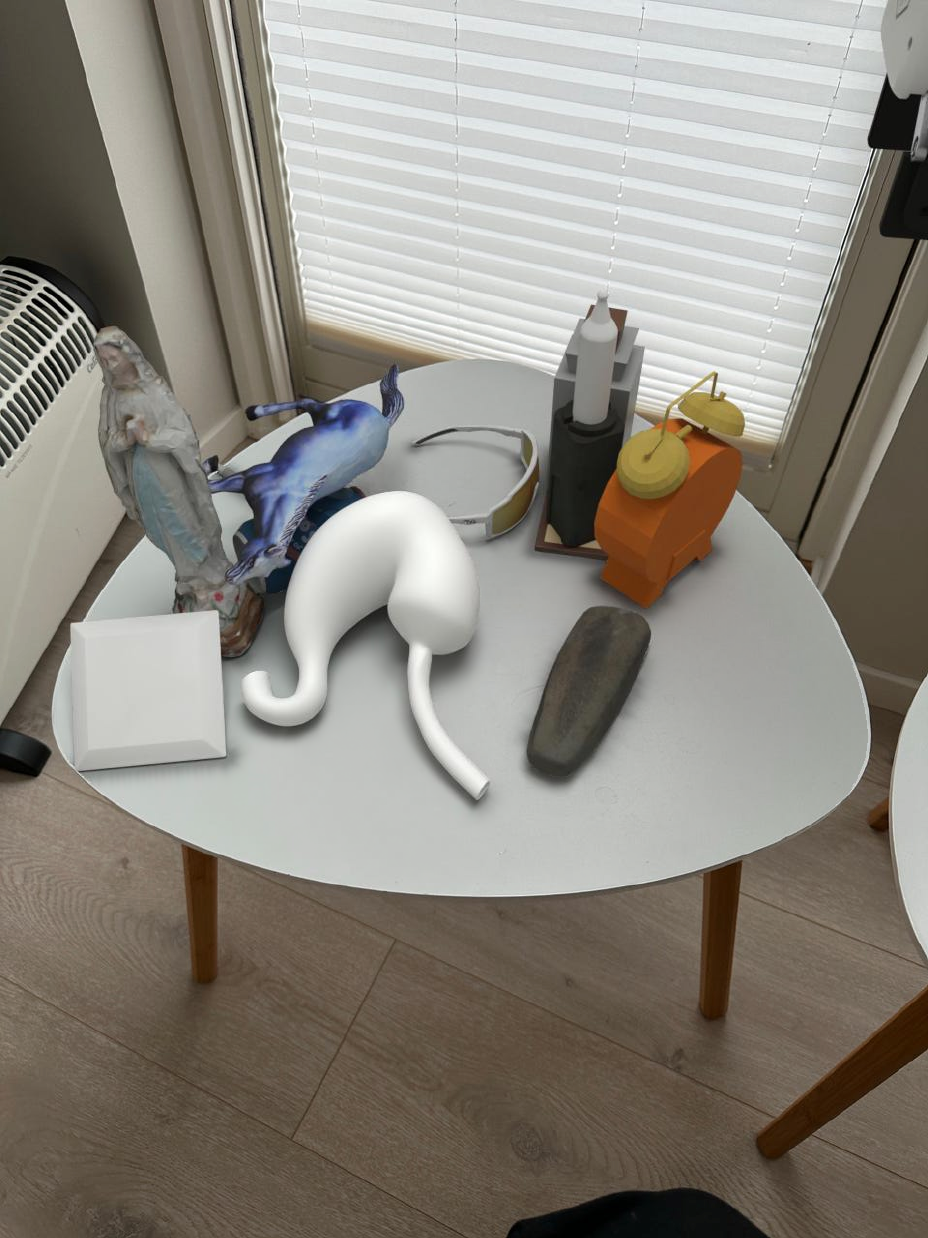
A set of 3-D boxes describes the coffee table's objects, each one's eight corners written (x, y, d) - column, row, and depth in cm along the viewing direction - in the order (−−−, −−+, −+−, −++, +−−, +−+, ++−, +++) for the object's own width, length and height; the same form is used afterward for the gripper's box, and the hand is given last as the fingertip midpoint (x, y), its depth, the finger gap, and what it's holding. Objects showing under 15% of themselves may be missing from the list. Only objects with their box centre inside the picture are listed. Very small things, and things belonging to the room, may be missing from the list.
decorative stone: (585, 614, 84) (589, 583, 81) (654, 637, 82) (661, 607, 79) (508, 767, 74) (509, 739, 71) (585, 797, 72) (589, 770, 69)
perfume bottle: (546, 490, 93) (557, 333, 79) (562, 446, 97) (576, 290, 83) (613, 504, 91) (636, 347, 77) (627, 459, 95) (651, 302, 81)
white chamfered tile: (69, 771, 73) (91, 771, 78) (223, 756, 74) (236, 757, 79) (65, 620, 75) (86, 630, 80) (215, 607, 76) (228, 617, 81)
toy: (126, 512, 79) (230, 558, 70) (344, 323, 90) (458, 341, 80) (173, 575, 84) (276, 625, 75) (373, 389, 95) (484, 413, 86)
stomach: (235, 702, 83) (449, 864, 76) (177, 653, 71) (425, 840, 64) (392, 511, 89) (605, 645, 82) (362, 434, 77) (611, 584, 69)
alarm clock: (672, 510, 92) (710, 334, 76) (724, 542, 89) (774, 366, 73) (583, 583, 86) (604, 409, 70) (636, 620, 83) (670, 447, 68)
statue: (164, 649, 82) (36, 361, 59) (197, 586, 86) (90, 296, 63) (244, 663, 81) (146, 376, 57) (274, 599, 85) (194, 308, 62)
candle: (541, 515, 91) (557, 281, 71) (587, 499, 92) (615, 265, 72) (567, 550, 88) (590, 316, 68) (614, 533, 89) (650, 298, 69)
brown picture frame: (624, 461, 96) (625, 456, 96) (610, 560, 88) (611, 555, 87) (555, 453, 97) (555, 447, 97) (534, 550, 89) (534, 545, 88)
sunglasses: (521, 555, 88) (515, 516, 84) (375, 537, 93) (363, 500, 89) (558, 458, 96) (554, 418, 93) (423, 446, 101) (414, 408, 97)
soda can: (237, 521, 79) (360, 472, 84) (223, 533, 86) (338, 487, 90) (271, 595, 80) (391, 543, 85) (255, 602, 86) (367, 553, 91)
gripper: (925, -278, 43) (824, 115, 56) (974, -189, 32) (836, 269, 45) (1102, -279, 42) (957, 122, 55) (1215, -187, 31) (1000, 283, 44)
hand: (902, 189), depth 50 cm, fingers open, 9 cm apart
